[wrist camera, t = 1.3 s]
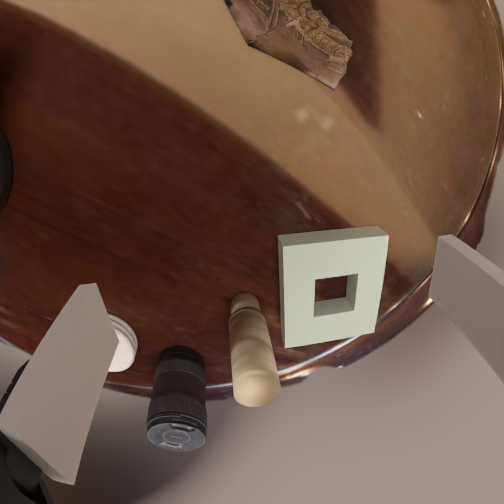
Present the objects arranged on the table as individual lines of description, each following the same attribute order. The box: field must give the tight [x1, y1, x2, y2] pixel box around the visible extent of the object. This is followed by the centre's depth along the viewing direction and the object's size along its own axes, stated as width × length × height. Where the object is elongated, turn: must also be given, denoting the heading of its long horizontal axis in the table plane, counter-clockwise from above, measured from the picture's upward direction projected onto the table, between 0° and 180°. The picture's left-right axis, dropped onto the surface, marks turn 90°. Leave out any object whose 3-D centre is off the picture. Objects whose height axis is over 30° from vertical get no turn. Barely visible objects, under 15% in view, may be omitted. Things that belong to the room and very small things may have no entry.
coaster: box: [108, 314, 138, 372], centre depth 43 cm, size 10×10×4 cm
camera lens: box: [146, 347, 207, 451], centre depth 40 cm, size 8×8×15 cm
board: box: [278, 226, 389, 348], centre depth 42 cm, size 14×16×4 cm
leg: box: [228, 293, 281, 407], centre depth 36 cm, size 5×5×16 cm
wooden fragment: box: [225, 0, 352, 90], centre depth 27 cm, size 26×11×1 cm, turn 38°
